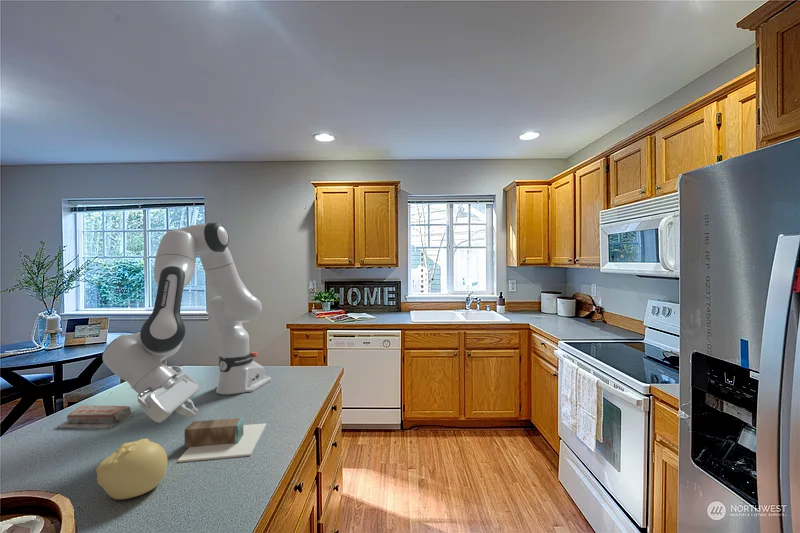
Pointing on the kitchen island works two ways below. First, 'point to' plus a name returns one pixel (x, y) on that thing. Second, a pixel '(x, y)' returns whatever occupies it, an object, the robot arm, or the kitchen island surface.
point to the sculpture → (132, 469)
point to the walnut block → (214, 432)
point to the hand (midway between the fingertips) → (194, 415)
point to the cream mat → (227, 446)
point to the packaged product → (97, 417)
